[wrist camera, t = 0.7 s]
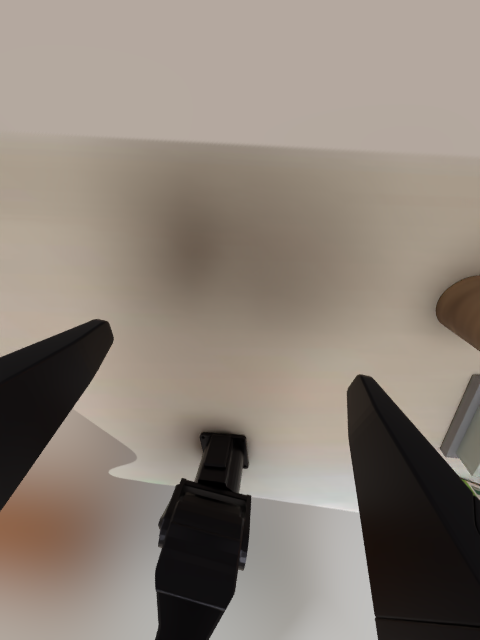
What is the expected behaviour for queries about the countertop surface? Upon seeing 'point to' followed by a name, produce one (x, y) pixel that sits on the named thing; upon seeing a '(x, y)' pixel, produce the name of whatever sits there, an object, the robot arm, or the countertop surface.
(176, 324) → the countertop surface
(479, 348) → the walnut plug
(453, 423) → the dock
